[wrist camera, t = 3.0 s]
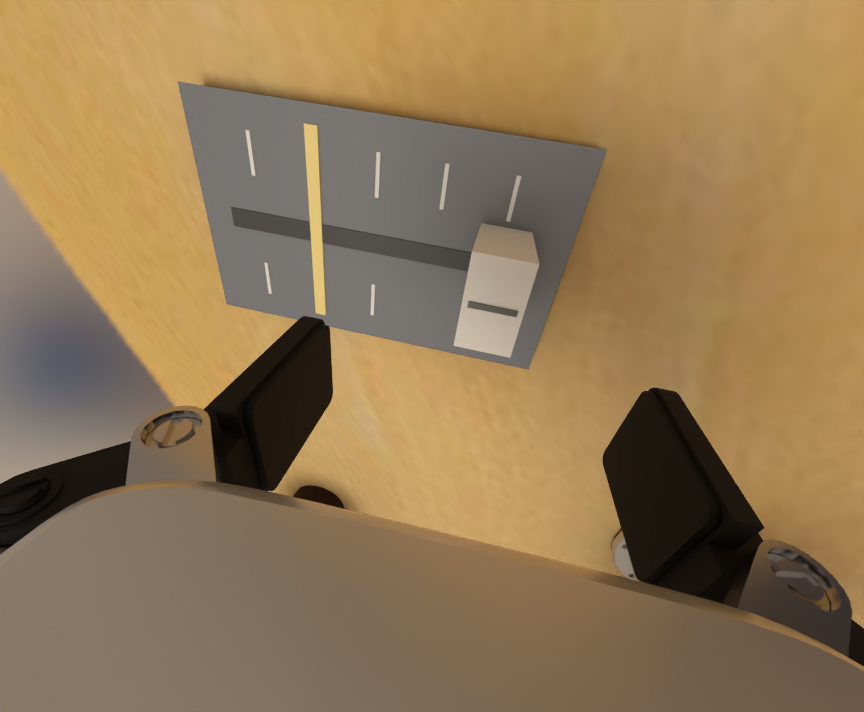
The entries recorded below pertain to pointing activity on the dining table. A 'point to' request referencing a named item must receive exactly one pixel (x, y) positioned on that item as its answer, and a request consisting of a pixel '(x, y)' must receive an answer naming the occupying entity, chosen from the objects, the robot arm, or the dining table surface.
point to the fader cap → (496, 289)
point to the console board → (376, 212)
